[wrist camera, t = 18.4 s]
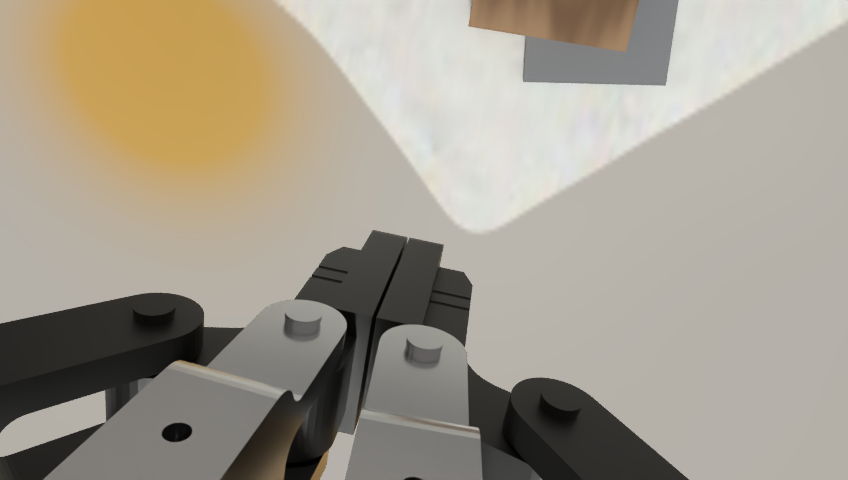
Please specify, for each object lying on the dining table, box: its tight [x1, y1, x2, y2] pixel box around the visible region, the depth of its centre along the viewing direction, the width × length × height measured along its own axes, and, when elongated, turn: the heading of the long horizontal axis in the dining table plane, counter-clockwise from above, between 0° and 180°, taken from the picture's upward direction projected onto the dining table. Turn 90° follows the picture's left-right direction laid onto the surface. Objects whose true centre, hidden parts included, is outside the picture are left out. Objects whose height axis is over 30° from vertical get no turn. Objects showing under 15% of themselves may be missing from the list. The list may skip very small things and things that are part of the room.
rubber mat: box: [523, 0, 678, 85], centre depth 38 cm, size 9×10×1 cm
